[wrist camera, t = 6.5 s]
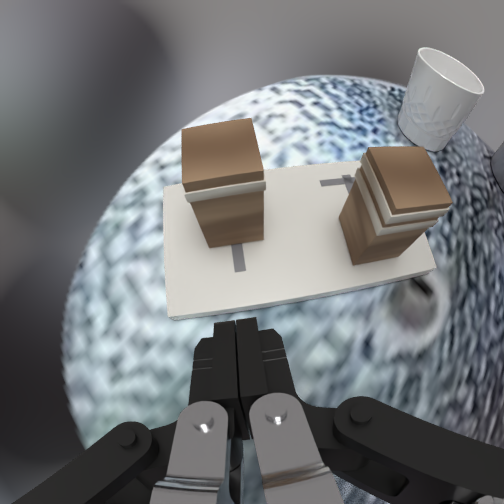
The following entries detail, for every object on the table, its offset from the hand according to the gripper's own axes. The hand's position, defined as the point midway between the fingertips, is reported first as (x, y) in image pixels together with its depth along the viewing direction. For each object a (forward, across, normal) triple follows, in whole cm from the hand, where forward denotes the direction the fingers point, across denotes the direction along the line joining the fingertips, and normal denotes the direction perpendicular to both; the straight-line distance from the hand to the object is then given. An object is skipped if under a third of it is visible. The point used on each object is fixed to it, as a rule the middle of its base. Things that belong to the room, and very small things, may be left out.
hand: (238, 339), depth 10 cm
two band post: (+11, -10, +1) cm, 15 cm away
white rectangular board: (+13, -5, +1) cm, 14 cm away
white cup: (+21, -23, -7) cm, 32 cm away
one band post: (+13, 0, -1) cm, 13 cm away
